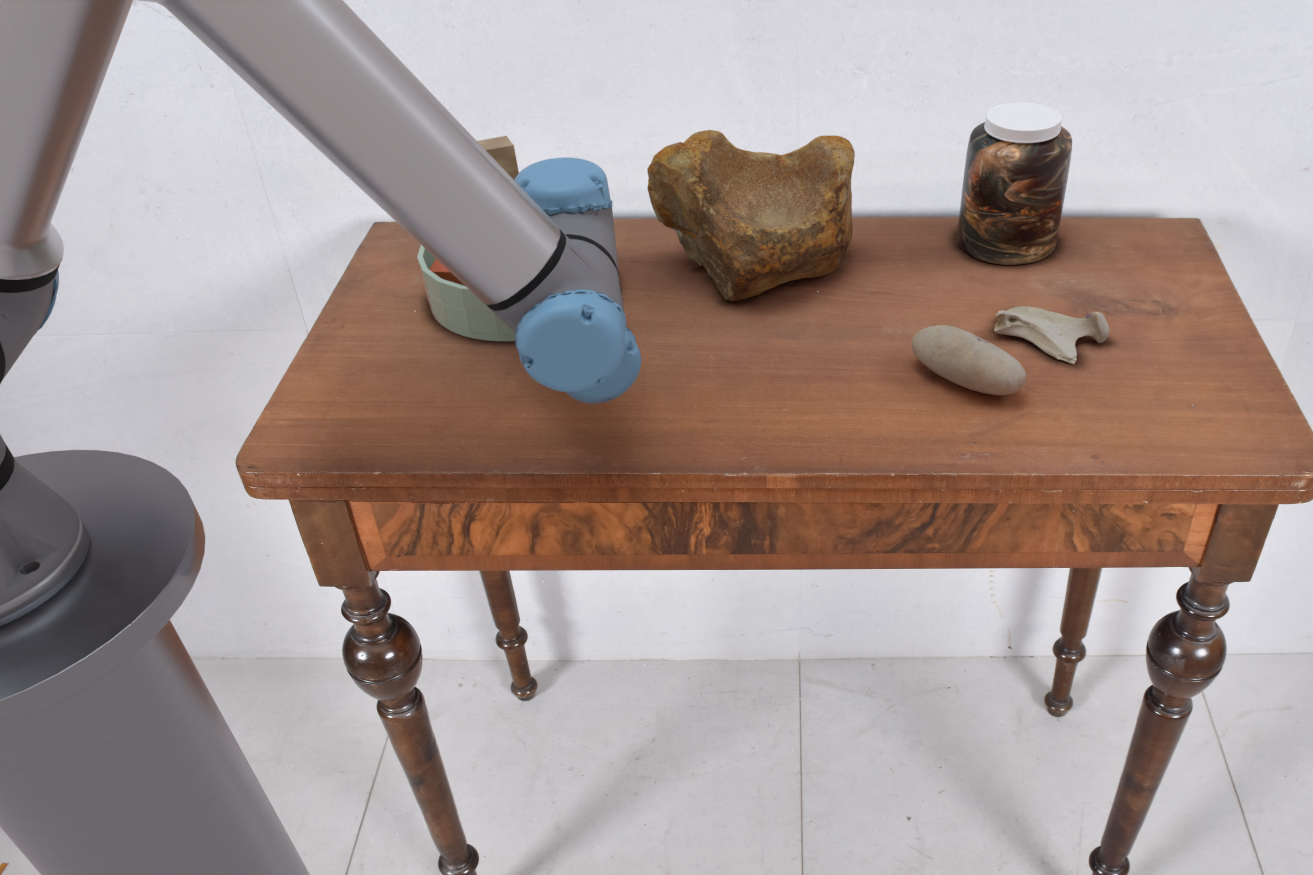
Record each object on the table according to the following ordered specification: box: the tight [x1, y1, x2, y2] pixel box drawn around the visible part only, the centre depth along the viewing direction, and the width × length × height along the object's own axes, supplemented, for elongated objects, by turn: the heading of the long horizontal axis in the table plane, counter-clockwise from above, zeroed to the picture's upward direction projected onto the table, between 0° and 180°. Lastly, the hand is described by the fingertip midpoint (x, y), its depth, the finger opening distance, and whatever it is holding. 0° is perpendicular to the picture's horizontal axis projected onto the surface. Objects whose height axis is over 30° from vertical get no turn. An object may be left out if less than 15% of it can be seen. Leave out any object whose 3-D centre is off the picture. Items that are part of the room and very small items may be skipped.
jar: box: [956, 101, 1073, 266], centre depth 122 cm, size 12×12×15 cm
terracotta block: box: [429, 259, 465, 286], centre depth 116 cm, size 4×4×4 cm
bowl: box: [416, 244, 516, 342], centre depth 118 cm, size 20×20×6 cm
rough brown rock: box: [647, 129, 856, 302], centre depth 117 cm, size 23×17×15 cm
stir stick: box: [476, 135, 520, 181], centre depth 114 cm, size 3×3×16 cm
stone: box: [911, 324, 1027, 396], centre depth 103 cm, size 6×6×12 cm
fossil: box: [993, 305, 1110, 365], centre depth 109 cm, size 7×11×4 cm, turn 56°
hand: (497, 194), depth 117 cm, fingers open, 4 cm apart
